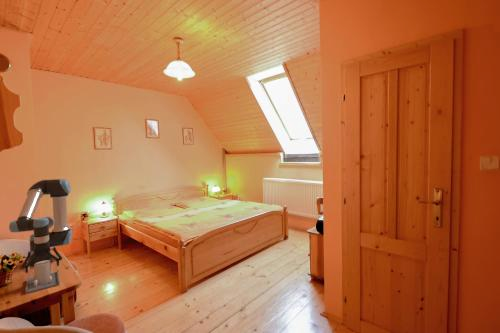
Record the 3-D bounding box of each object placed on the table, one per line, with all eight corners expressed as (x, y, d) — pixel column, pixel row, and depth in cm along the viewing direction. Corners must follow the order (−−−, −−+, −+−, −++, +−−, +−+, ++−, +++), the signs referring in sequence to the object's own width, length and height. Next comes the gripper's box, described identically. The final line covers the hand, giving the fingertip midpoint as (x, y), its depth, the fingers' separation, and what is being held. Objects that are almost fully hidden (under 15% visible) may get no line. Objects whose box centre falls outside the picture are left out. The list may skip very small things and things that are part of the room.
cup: (53, 279, 162) (53, 261, 161) (39, 285, 154) (38, 266, 154) (47, 277, 165) (46, 259, 165) (32, 282, 158) (31, 264, 157)
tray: (27, 280, 163) (27, 272, 163) (58, 272, 173) (57, 265, 173) (25, 294, 146) (25, 285, 146) (59, 284, 156) (59, 277, 156)
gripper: (14, 248, 148) (16, 282, 149) (66, 239, 164) (67, 270, 165) (15, 244, 154) (17, 278, 154) (65, 236, 170) (66, 266, 170)
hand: (43, 274), depth 160 cm, fingers open, 13 cm apart
